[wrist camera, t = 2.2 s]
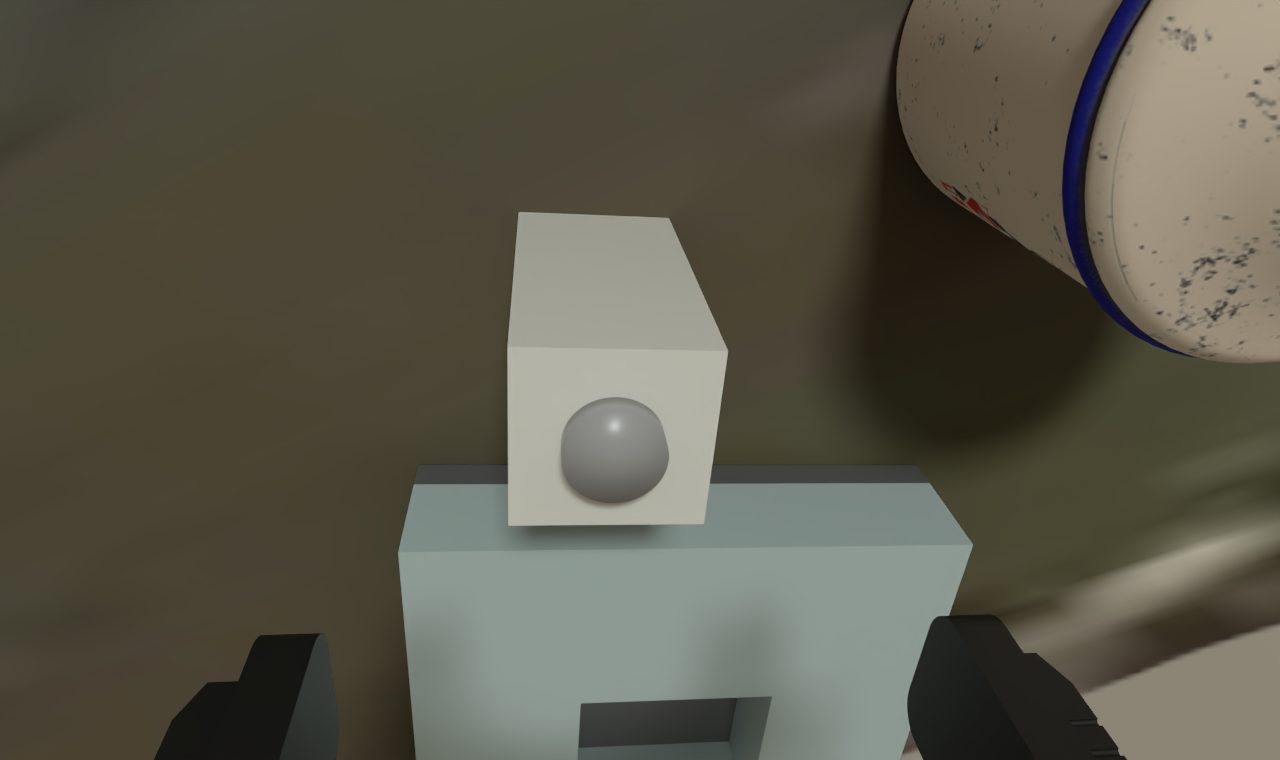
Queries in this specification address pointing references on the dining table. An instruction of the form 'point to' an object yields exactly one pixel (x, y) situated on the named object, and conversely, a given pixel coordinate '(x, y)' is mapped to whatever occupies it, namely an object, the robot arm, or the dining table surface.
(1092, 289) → the teacup with lid
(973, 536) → the dining table surface
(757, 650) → the outlet block
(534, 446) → the cream block with knob
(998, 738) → the robot arm
